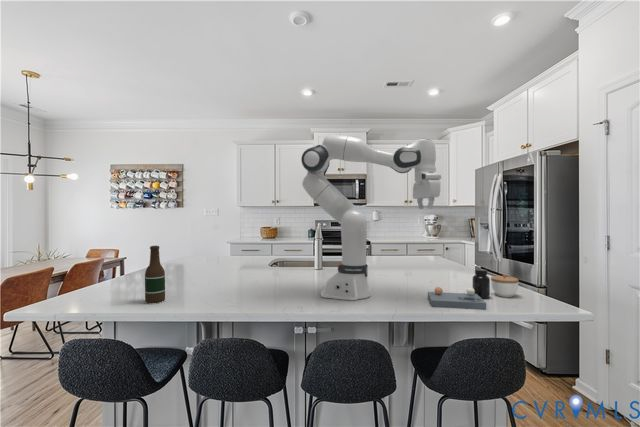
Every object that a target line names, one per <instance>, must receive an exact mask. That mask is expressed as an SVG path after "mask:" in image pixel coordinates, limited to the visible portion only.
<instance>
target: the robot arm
mask: <svg viewBox="0 0 640 427" xmlns="http://www.w3.org/2000/svg"><path fill="white" fill-rule="evenodd" d="M436 151H437V150H436V145H435V142H434V141H433V140H430V139H429V138H418V139H416V140H415V141H414V142H412V143H410V144H409V145H406V146H402V147H400V148H398V149H397V150H396V151H395V152H393V153H392V152H386V151H383V150H378V149H375V148H372V147H371V146H370V145H369V144H367V142H365V141H364V140H363V139H360V138H358V137H355V136H350V135H344V134H328V135H326V136H325V137H324V138H323V140H322V143H321V144H317V145H315V146H312V147H310V148H307V149H305V150H304V152H303V153H302V155H301V160H300V161H301V164H302V166H303V168H304V169H305V170H306V171H307V173H306V175H305V176H304V178H303V180H302V184H301V185H302V187H303V189H304V191H305V192H306V193H307V195H309V197H310V198H311V199H312V200H313V201H314V202H315V203H316V204H317V205H318V206H319V207H320V208H321V209H322V210H323V211H324V212H326V213H327V214H328V215H329V216H331V217H332V218H333V219H334V220H335V221H336V222H337V223H339V224H340V233H341V234H340V235H341V236H340V237H341V262H340V263H338V264H337V272H336V273H335V274H333V275H332V276H331V277H330V278H329V279H327V281H326V284H325V289H323V290H321V291H320V297H321V298H325V299H335V300H343V301H356V300H362V299H363V300H364V299H367V298H369V297H371V292H370V289H369V283H368V282H369V281H368V275H369V268H368V267H369V266H368V264H367V218H366V216H365V215H364V213H363V212H362V211H361V210H360V209H359V208H358V207H357V206H356V205H354V203H352V201H350V200H349V199H348V198H347V197H346V196H345V195H344V194H343V193H342V192H341V191H339V189H337V187H336V186H335V185H334V184H332V182H330V181H329V180H328V179H327V177H325V176H326V174H327V172H328V169H329V167H330V161H332V160H339V161H344V162H352V163H371V164H375V165H381V166H385V167H389V168H390V169H392V170H394V171H395V172H396V173H398V174H407V173H409V172H410V171H412V169H414V183H413V187H412V198H413V200H416V203H417V205H418V209H419V210H423V209H424V208H425V207H424V206H425V204H424V199H427V200H428V202H427V209H428V210H430V209H431V210H432V209H434V202H435V198H439V197H440V195H441V179H442V174H441V173H440V172H438V171H437V167H436V161H437V155H436V154H437V152H436Z"/></svg>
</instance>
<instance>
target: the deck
mask: <svg viewBox="0 0 640 427" xmlns="http://www.w3.org/2000/svg"><path fill="white" fill-rule="evenodd" d="M427 299H428V301H429V304H430V305H431V307H432V308H450V309H466V310H467V309H470V310H473V309H474V310H487V302H486V301H485V299H482V298H480V297H479V296H478V295H477V294H473V295H469V294H467V292H466V293H462V292H461V293H460V292H442V294H440V295H438V294H436V293H435V291H427Z"/></svg>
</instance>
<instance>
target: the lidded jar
mask: <svg viewBox="0 0 640 427" xmlns="http://www.w3.org/2000/svg"><path fill="white" fill-rule="evenodd" d="M519 282H520V281H519V279H518V278H517V277H513V276H508V275H506V274H504V273H503V274H502V275H493V276H491V277H490V283H491V284H490V285H491V288H492V290H493V292H494V293H495V294H496V296H498V297H503V298H512V297H513V296H514V295H515V294H516V293H517V292H518V289H519Z"/></svg>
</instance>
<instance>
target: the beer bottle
mask: <svg viewBox="0 0 640 427" xmlns="http://www.w3.org/2000/svg"><path fill="white" fill-rule="evenodd" d="M149 249H150V256H149V265H148V266H147V268H146V270H145V273H144V300H145V303H146V302H147V303H156V304H160V303H159V302H161V303H163V302H165V301H166V272H165V269H164V267H163V266H162V264H161V260H160V246H159V245H150V246H149ZM164 300H165V301H164ZM162 301H163V302H162ZM147 303H146V304H147Z"/></svg>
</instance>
